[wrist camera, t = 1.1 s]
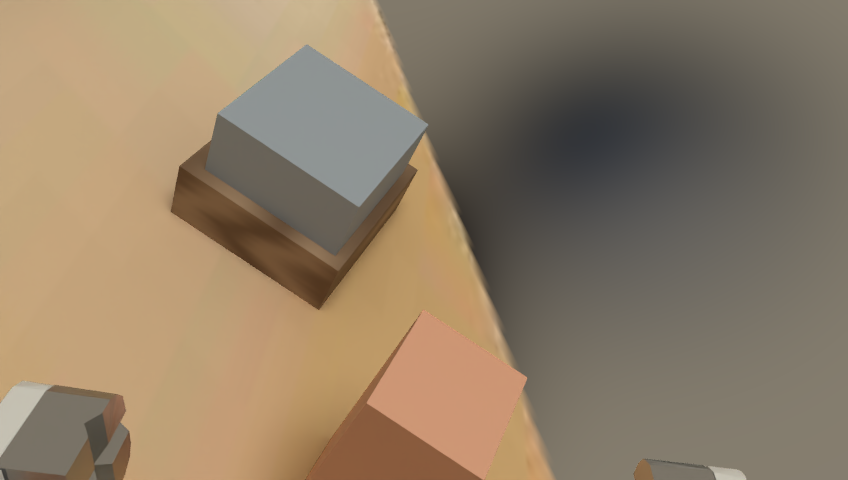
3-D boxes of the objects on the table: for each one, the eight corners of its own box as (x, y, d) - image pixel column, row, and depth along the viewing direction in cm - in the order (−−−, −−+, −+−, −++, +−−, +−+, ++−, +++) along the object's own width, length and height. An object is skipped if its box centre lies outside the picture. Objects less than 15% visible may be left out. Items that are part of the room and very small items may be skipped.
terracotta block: (281, 518, 40) (366, 402, 29) (331, 437, 43) (423, 309, 33) (366, 574, 39) (484, 480, 29) (409, 489, 43) (527, 377, 32)
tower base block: (170, 214, 49) (179, 166, 45) (268, 128, 57) (283, 81, 54) (317, 312, 49) (338, 271, 45) (394, 211, 57) (417, 169, 53)
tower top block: (204, 169, 46) (217, 113, 42) (289, 97, 53) (306, 44, 49) (335, 256, 46) (359, 207, 42) (403, 172, 53) (428, 124, 49)
